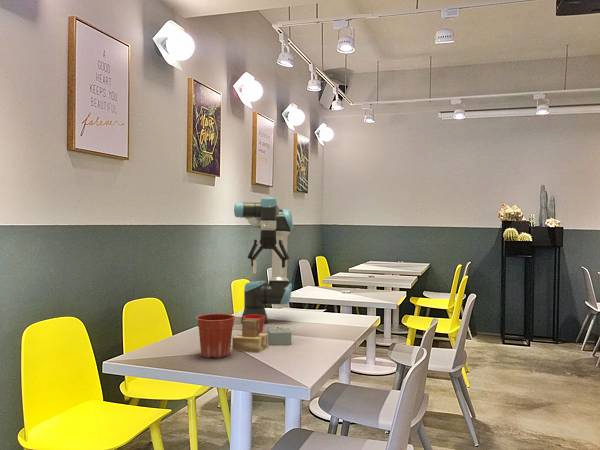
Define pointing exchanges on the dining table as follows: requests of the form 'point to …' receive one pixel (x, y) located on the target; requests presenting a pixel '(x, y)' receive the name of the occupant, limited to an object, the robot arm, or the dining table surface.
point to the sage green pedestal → (279, 336)
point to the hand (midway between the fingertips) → (268, 274)
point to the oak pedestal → (249, 343)
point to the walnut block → (250, 327)
